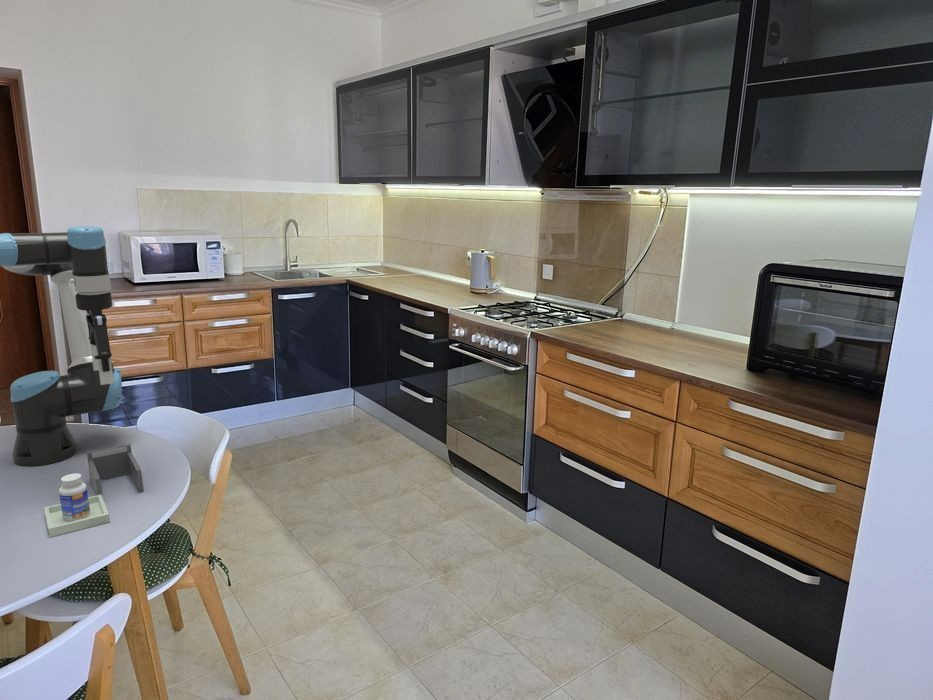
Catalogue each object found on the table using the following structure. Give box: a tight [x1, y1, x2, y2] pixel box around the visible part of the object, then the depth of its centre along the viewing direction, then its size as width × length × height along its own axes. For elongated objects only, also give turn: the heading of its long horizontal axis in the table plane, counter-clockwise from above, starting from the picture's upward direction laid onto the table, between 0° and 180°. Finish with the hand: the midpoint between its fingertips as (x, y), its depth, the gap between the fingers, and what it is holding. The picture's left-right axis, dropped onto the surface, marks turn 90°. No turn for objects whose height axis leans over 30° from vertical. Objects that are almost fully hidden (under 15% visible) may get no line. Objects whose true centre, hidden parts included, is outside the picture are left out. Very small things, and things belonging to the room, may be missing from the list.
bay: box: [86, 443, 145, 499], centre depth 161 cm, size 14×10×8 cm
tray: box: [43, 494, 111, 538], centre depth 146 cm, size 12×12×2 cm
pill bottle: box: [58, 473, 90, 521], centre depth 145 cm, size 5×5×10 cm
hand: (103, 376), depth 158 cm, fingers open, 13 cm apart
